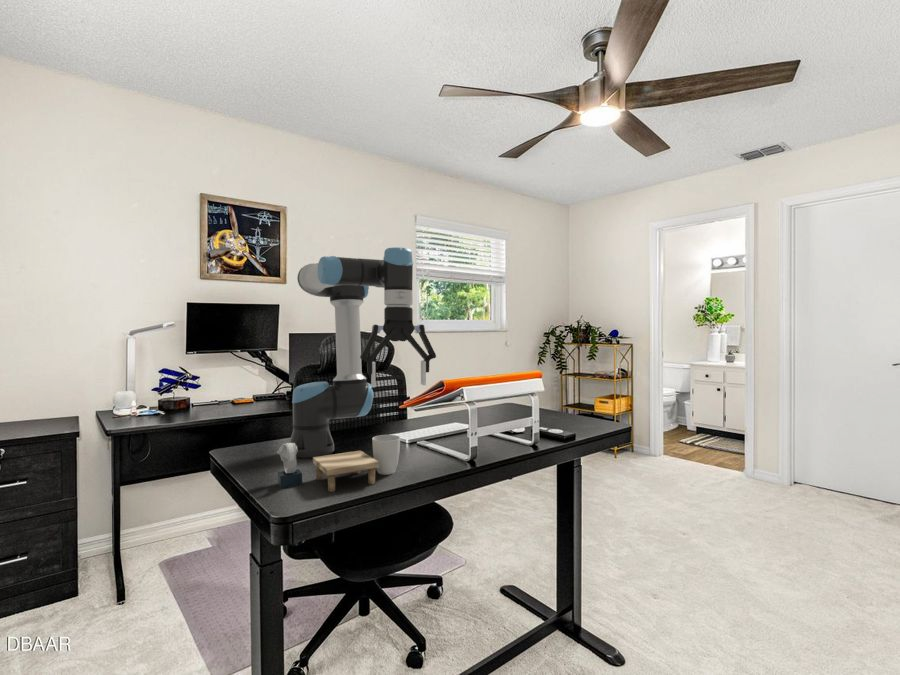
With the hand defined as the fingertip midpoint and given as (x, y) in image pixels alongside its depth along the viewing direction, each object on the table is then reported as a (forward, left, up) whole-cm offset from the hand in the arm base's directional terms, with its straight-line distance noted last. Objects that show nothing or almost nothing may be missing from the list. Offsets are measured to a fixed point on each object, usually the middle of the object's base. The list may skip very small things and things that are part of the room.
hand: (398, 385), depth 129 cm
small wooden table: (-9, -12, -26) cm, 30 cm away
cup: (-11, +1, -27) cm, 29 cm away
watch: (-15, -26, -27) cm, 40 cm away
